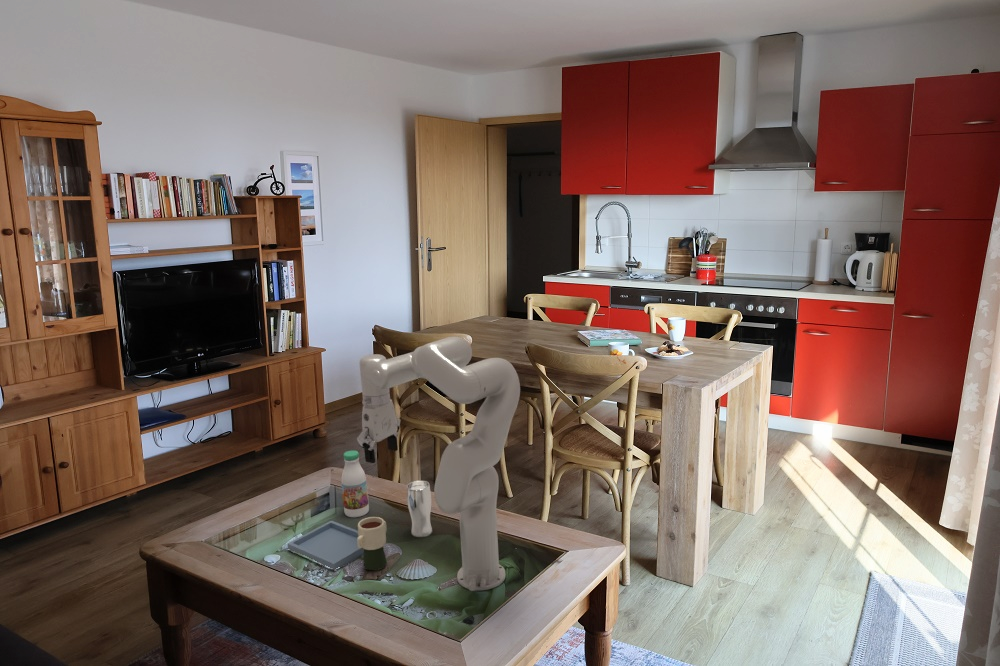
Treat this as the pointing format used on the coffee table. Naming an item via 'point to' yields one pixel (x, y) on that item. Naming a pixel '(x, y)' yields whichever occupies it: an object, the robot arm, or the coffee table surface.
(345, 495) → the milk bottle
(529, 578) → the coffee table surface
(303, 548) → the tray
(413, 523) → the beer glass
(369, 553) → the character mug
